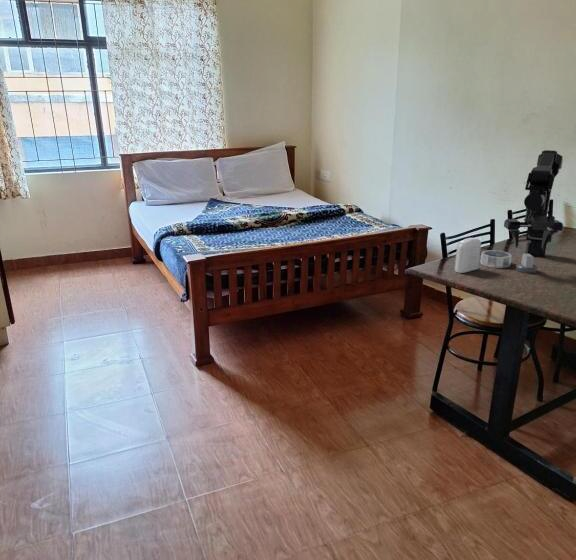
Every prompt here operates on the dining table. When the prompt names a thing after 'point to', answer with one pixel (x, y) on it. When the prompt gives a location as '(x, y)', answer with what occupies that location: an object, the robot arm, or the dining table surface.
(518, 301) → the dining table surface
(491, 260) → the faceted white dish
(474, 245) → the photo printer
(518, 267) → the grey knob
